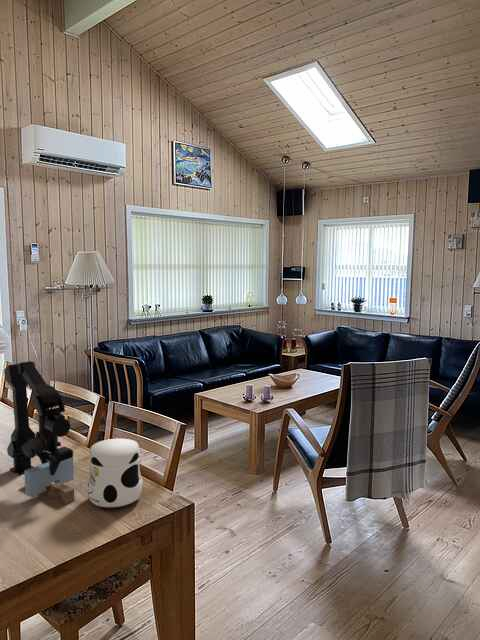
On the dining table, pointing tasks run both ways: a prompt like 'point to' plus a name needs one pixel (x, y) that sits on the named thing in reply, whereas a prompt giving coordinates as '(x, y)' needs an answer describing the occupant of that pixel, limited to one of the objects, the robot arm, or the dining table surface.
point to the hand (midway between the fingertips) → (49, 473)
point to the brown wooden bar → (60, 492)
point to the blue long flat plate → (47, 476)
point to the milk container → (114, 473)
